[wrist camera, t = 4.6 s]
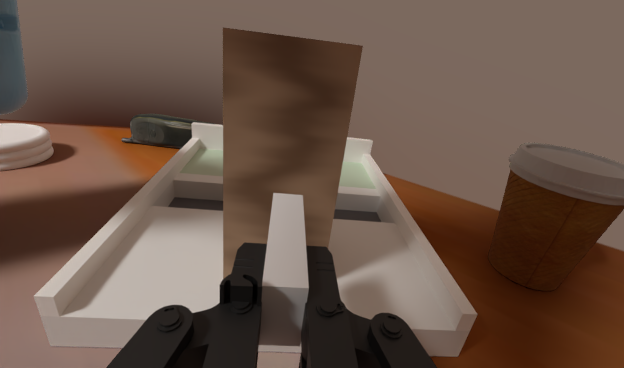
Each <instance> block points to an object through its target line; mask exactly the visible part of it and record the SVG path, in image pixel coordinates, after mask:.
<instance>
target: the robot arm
mask: <svg viewBox="0 0 624 368" xmlns="http://www.w3.org/2000/svg"><path fill="white" fill-rule="evenodd" d="M27 96H28V92H27V83H26V75H25V66H24V57H23V49H22V41H21V32H20V23H19V15H18V7H17V0H0V114H8V113H12V112H14V111H16V110H18V109H20V108H21V107H22V106H23V105H24V104H25V102H26V100H27ZM300 344H301V357H300V363H299V368H437V367H436V365H435V364H434V362H433V361H432V359H431V358H430V356H429V355H428V353H427V352H426V350H425V349H424V347H423V346H422V345H421V343H420V342H419V340H418V339H417V337H416V336H415V334H414V333H413V331H412V330H411V328H410V327H409V325H408V324H407V323H406V322H405V321H404V320H403V319H401V318H400V317H398V316H397V315H394V314H391V313H379V314H376V315H375V316H374V317H373V318H372V319H367V318H364V317H361V316H358V315H356V314H354V313H352V312H351V311H349V310H348V309H347V308H346V306H345V304H344V303H343V302H342V301H341V299H340V294H339V289H338V283H337V278H336V272H335V267H334V261H333V256H332V254H331V252H330V251H329V250H328V248H327V247H322V246H306V237H305V221H304V206H303V195H295V194H283V193H273V200H272V208H271V217H270V225H269V233H268V241H267V244H262V243H246V242H244V243H243V244H242V245H241V246H240V247H239V248H238V250H237V253H236V257H235V261H234V265H233V269H232V272H231V274H230V275H228V276H226V277H225V278H224V279H223V280H222V282H221V283H220V303H219V304H217V305H216V306H214V307H212V308H210V309H207V310H204V311H199V312H195V313H192V312H191V311H190V310H189V308H187V307H185V306H183V305H169V306H164V307H162V308H160V309H158V310H156V311H155V312H154V313H153V314H152V315H150V316H149V317H148V319H147V320H146V321H145V322H144V323H143V325H142V326H141V327H140V328H139V329H138V330H137V332H136V333H135V334H134V335H133V336H132V338H131V339H130V340H129V341H128V342H127V344H126V345H125V346H124V347H123V348H122V350H121V351H120V352H119V353H118V354H117V356H116V357H115V358H114V359H113V360H112V362H111V363H110V364H109V365H108V366H107V368H257V359H258V347H259V345H273V346H300Z"/></svg>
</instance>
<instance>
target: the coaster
mask: <svg viewBox="0 0 624 368" xmlns="http://www.w3.org/2000/svg"><path fill="white" fill-rule="evenodd" d="M53 152H54V149H53V147H52V141H51V139H50V133H49V131H48V130H46V129H45V128H43V127H40V126H36V125H30V124H15V123H7V124H0V171H4V170H12V169H18V168H23V167H27V166H31V165H35V164H38V163H40V162H43V161H45V160H47V159H48V158H50V157H51V156H52V155H53Z"/></svg>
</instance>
